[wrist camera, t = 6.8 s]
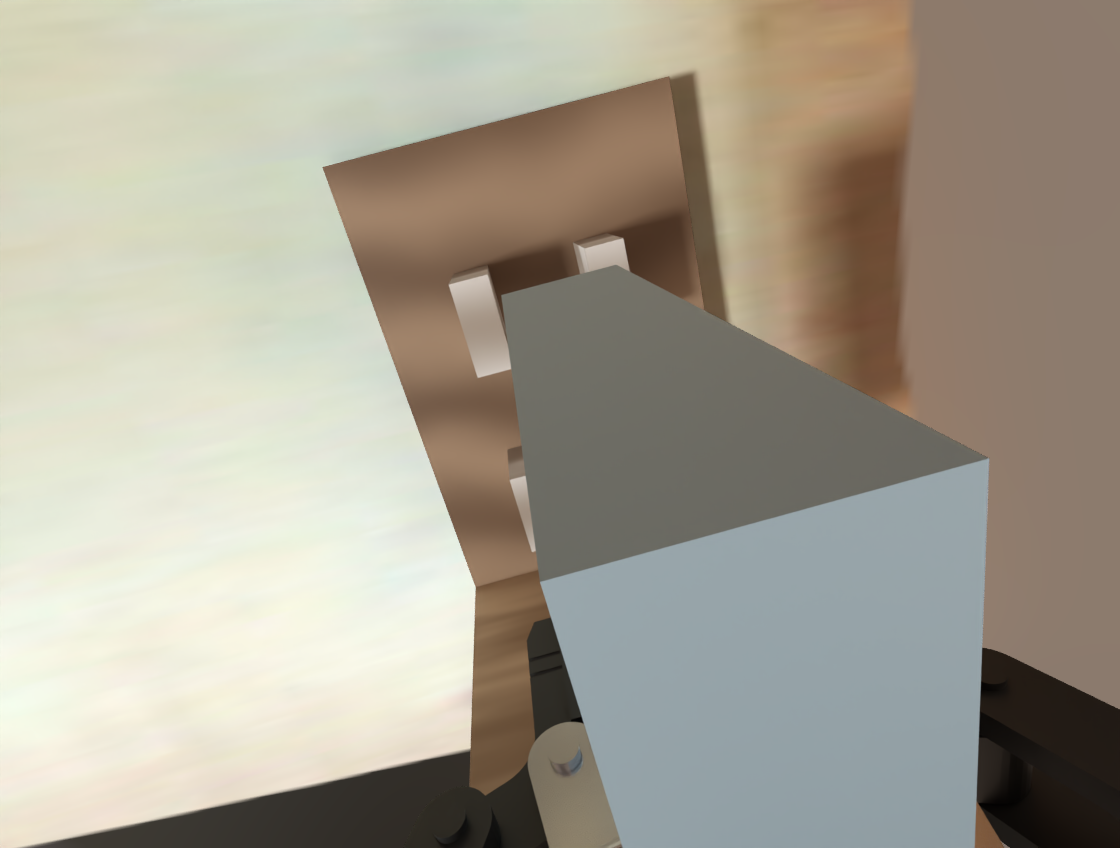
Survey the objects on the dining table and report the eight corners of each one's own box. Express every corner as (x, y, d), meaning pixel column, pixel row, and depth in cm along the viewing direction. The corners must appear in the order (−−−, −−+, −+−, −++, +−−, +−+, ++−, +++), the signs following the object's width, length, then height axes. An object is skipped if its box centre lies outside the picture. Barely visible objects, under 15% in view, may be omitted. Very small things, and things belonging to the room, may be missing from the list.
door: (501, 295, 15) (539, 580, 4) (646, 256, 15) (1108, 425, 4) (613, 698, 20) (770, 1320, 9) (721, 668, 20) (1008, 1248, 9)
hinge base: (331, 168, 26) (-478, 21, 4) (659, 82, 26) (1497, -477, 4) (486, 598, 35) (483, 1263, 13) (729, 531, 35) (1123, 1074, 13)
